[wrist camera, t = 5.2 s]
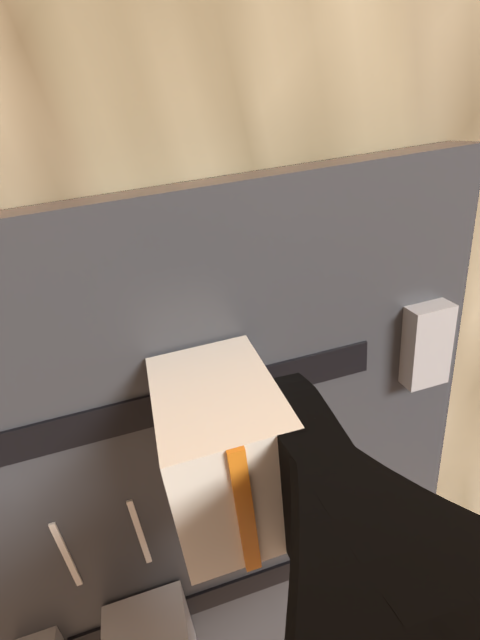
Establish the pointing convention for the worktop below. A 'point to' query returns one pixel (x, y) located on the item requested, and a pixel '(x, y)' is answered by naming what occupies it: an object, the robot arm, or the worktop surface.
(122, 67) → the worktop surface
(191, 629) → the cream slider knob
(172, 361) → the fader cap cream
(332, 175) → the fader console
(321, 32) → the worktop surface
